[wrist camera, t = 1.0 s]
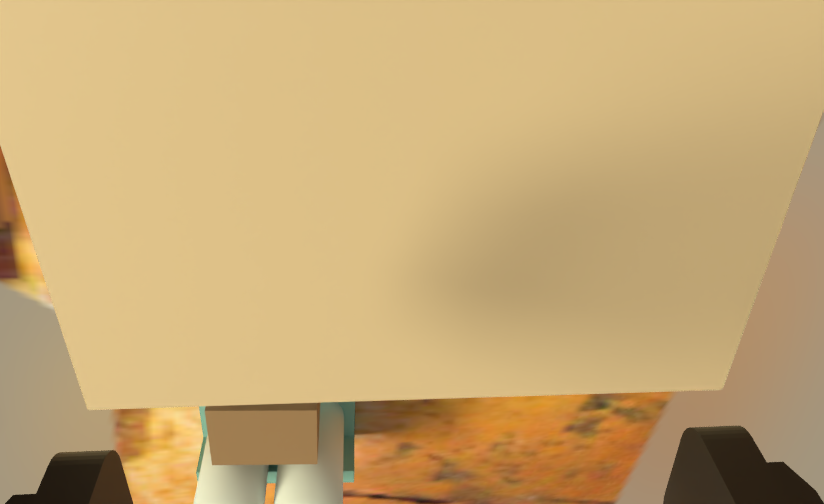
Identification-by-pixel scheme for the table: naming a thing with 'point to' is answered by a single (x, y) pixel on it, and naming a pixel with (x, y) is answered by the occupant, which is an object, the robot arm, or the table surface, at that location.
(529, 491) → the table surface
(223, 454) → the green pegged base
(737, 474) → the robot arm
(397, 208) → the under counter shelf
